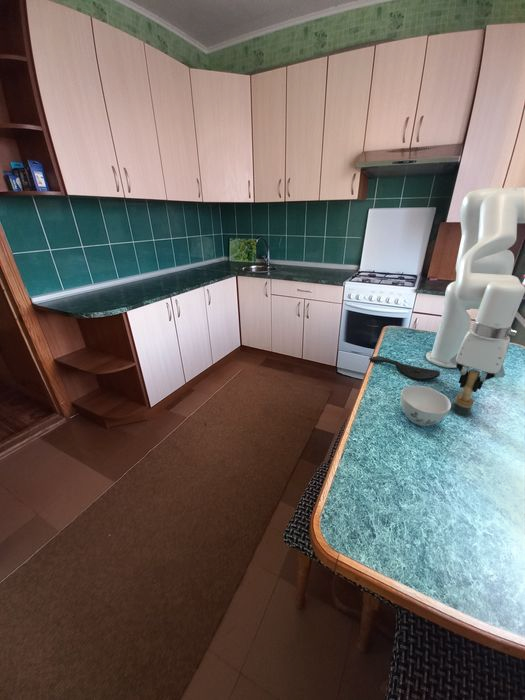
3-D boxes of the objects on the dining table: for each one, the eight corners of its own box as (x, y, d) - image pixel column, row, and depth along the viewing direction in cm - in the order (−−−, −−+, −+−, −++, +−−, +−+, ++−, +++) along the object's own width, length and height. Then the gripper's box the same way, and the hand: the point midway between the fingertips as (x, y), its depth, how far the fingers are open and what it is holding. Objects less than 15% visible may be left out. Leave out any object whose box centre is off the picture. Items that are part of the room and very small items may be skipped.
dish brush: (450, 404, 90) (464, 366, 84) (467, 408, 89) (482, 369, 82) (452, 413, 87) (466, 373, 80) (470, 417, 85) (486, 377, 79)
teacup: (439, 441, 77) (447, 418, 73) (390, 422, 84) (396, 400, 80) (448, 412, 87) (456, 390, 84) (404, 397, 94) (409, 376, 91)
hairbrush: (374, 349, 118) (443, 366, 103) (373, 357, 120) (441, 375, 104) (365, 356, 113) (437, 376, 97) (364, 365, 115) (435, 385, 99)
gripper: (532, 333, 73) (505, 393, 81) (458, 318, 83) (441, 372, 91) (528, 343, 68) (500, 405, 76) (451, 325, 78) (434, 382, 87)
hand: (468, 387), depth 84 cm, fingers closed on dish brush, 2 cm apart
